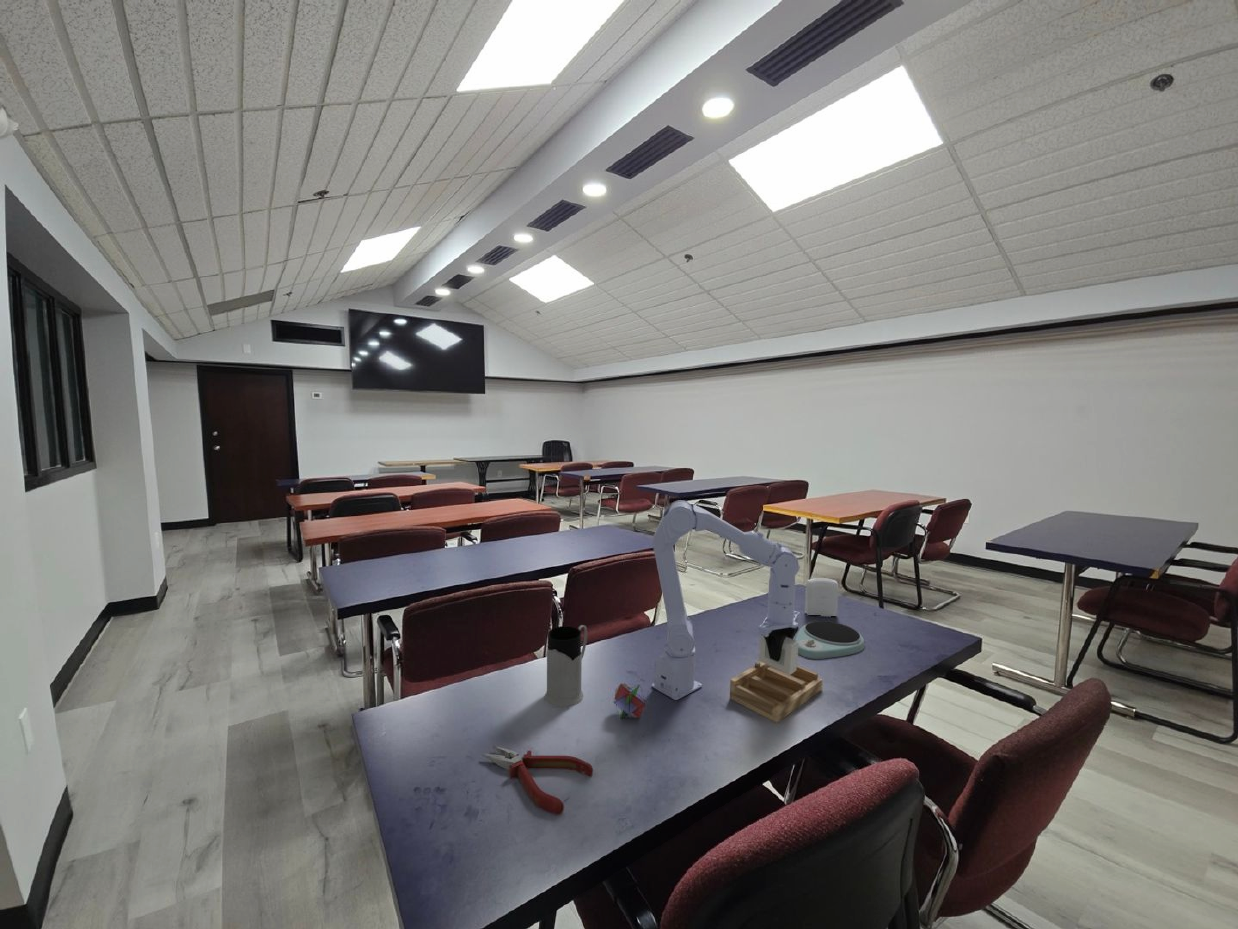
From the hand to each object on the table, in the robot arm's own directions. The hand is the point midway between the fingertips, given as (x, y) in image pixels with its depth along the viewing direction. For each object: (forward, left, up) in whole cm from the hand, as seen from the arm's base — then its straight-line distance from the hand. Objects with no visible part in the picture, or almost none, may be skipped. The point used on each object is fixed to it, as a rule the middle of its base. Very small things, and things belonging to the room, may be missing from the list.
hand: (778, 657), depth 114 cm
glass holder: (-36, +32, -9) cm, 49 cm away
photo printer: (+54, +16, -9) cm, 57 cm away
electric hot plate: (+35, +5, -10) cm, 36 cm away
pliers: (-55, +14, -10) cm, 58 cm away
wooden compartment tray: (0, 0, -9) cm, 9 cm away
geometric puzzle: (-32, +16, -9) cm, 37 cm away
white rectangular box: (0, 0, -2) cm, 2 cm away
